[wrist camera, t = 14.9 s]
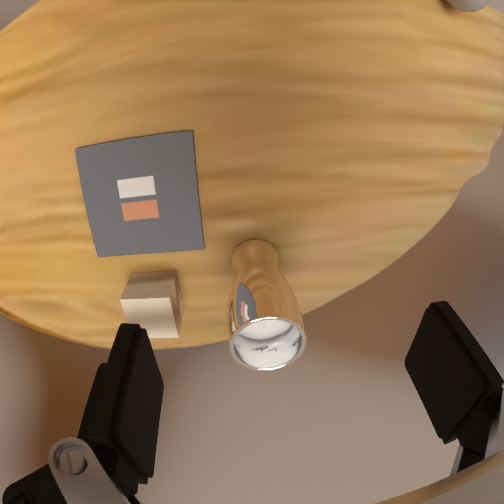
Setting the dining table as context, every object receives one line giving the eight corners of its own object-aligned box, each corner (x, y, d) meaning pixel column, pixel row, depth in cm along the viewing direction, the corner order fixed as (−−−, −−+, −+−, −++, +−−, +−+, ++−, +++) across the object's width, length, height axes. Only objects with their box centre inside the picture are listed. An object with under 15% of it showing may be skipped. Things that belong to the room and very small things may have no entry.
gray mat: (76, 148, 31) (75, 149, 30) (192, 130, 31) (192, 130, 31) (99, 255, 37) (97, 257, 37) (204, 247, 38) (204, 249, 37)
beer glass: (289, 274, 40) (315, 359, 27) (238, 291, 41) (243, 380, 28) (273, 227, 37) (298, 303, 24) (218, 246, 38) (213, 329, 25)
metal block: (132, 272, 39) (119, 299, 34) (176, 270, 39) (169, 297, 34) (142, 309, 42) (133, 338, 36) (183, 307, 42) (178, 337, 37)
